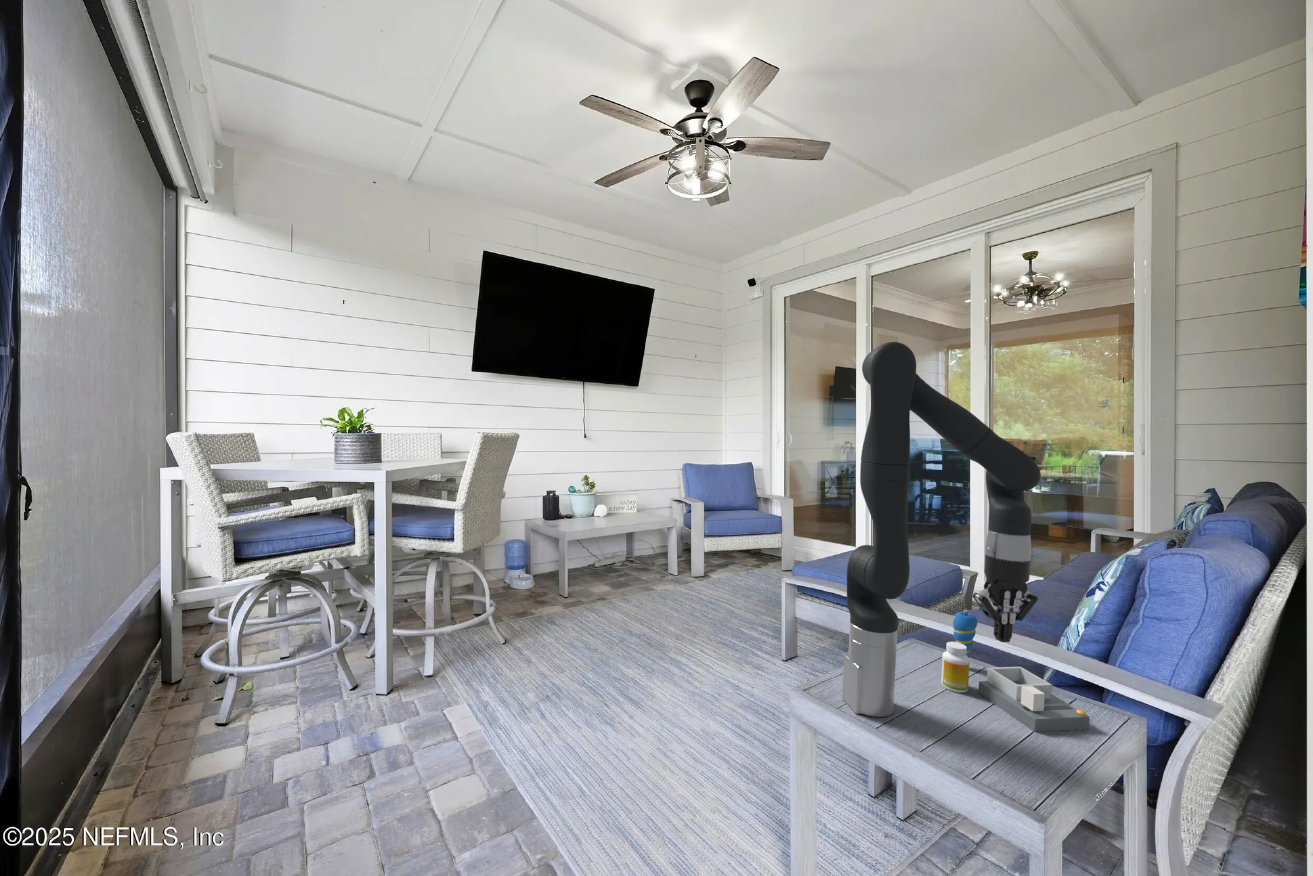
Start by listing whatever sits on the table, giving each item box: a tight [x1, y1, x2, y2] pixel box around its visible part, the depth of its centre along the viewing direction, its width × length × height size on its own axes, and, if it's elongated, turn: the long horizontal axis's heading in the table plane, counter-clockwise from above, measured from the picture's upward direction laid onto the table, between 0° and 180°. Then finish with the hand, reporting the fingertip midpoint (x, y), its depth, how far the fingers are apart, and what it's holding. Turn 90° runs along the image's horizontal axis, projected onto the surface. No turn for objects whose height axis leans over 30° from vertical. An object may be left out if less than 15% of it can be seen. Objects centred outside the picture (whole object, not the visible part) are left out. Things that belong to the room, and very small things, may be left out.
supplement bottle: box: [940, 641, 971, 694], centre depth 121 cm, size 5×5×10 cm
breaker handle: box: [1021, 686, 1045, 711], centre depth 108 cm, size 2×3×4 cm
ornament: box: [952, 607, 978, 659], centre depth 131 cm, size 5×5×15 cm
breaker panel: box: [978, 666, 1090, 733], centre depth 112 cm, size 12×15×6 cm
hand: (1002, 640), depth 106 cm, fingers closed
